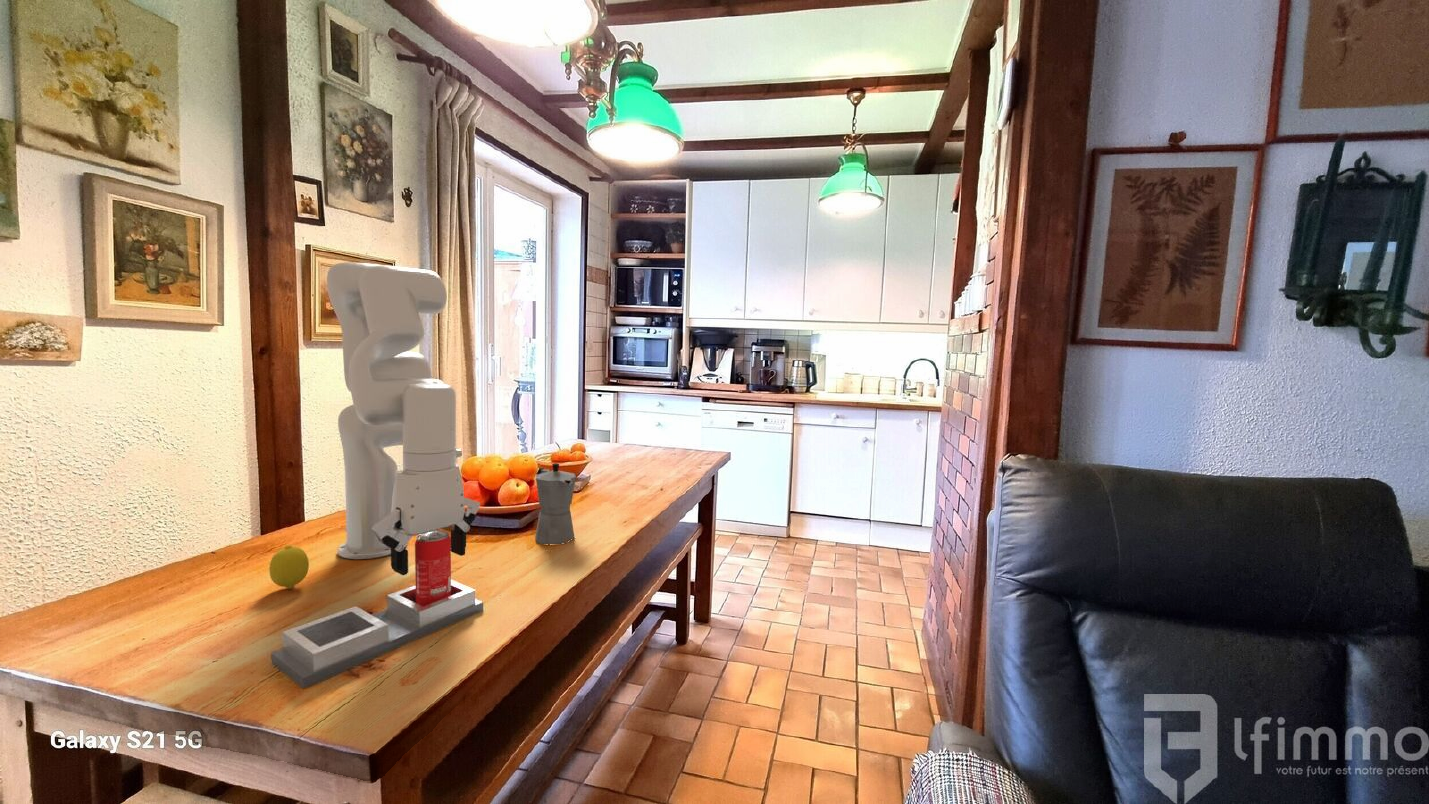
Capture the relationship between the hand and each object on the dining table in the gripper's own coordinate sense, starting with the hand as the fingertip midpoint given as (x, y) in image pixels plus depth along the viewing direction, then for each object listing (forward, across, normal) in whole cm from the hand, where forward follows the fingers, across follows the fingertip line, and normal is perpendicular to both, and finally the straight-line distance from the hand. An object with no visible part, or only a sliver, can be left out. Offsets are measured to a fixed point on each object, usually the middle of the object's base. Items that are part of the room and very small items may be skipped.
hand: (430, 562), depth 89 cm
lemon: (+10, +9, -28) cm, 31 cm away
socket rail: (+9, +7, +1) cm, 11 cm away
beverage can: (+8, 0, 0) cm, 8 cm away
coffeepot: (+10, -37, -12) cm, 40 cm away
